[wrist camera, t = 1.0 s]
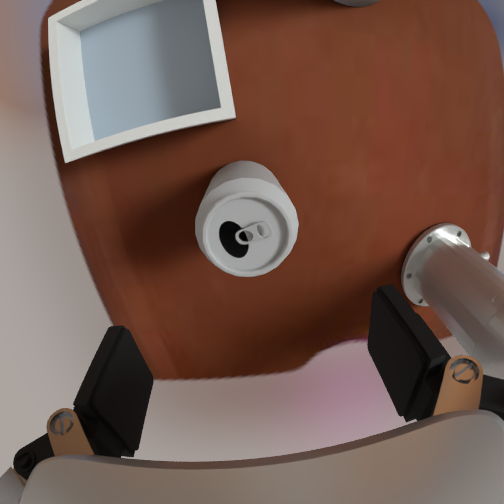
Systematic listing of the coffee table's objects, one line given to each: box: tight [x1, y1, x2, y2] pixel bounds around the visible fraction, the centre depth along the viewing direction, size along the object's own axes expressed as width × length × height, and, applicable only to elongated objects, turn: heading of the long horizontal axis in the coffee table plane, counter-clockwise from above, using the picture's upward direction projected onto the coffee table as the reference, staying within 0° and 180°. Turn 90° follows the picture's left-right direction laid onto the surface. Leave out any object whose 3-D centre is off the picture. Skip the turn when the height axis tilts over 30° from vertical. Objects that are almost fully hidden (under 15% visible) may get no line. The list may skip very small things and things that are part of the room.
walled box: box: [48, 0, 236, 163], centre depth 21 cm, size 16×16×6 cm
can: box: [195, 161, 299, 277], centre depth 25 cm, size 8×8×12 cm
